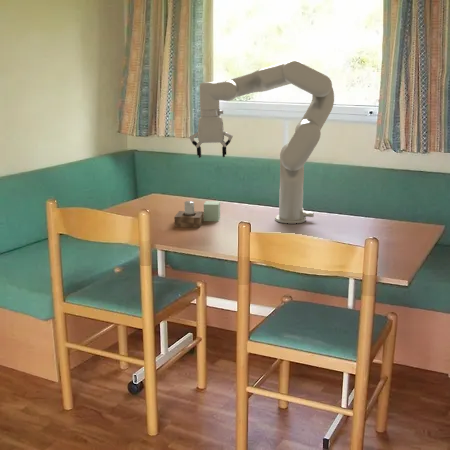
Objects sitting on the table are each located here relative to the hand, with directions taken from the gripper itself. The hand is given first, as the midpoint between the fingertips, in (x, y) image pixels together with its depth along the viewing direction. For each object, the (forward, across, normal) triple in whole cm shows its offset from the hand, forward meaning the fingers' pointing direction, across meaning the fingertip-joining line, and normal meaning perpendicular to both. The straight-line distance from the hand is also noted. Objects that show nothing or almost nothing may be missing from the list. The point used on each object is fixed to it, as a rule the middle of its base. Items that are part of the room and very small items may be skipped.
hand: (211, 156), depth 256 cm
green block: (+26, +1, +1) cm, 26 cm away
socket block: (+25, +9, +10) cm, 28 cm away
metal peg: (+25, +9, +10) cm, 28 cm away
